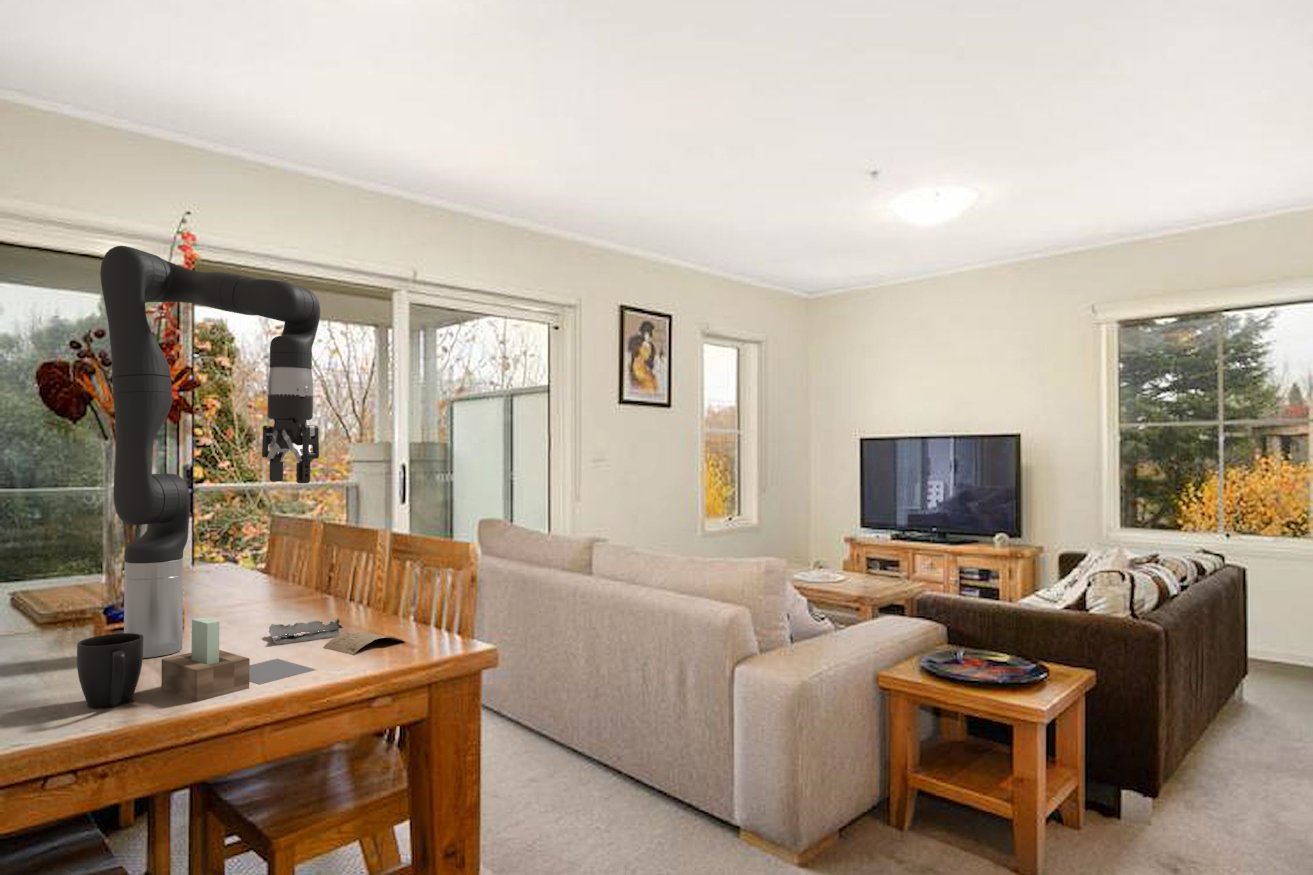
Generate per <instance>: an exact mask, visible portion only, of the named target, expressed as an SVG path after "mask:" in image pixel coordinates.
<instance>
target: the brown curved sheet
mask: <svg viewBox="0 0 1313 875" xmlns="http://www.w3.org/2000/svg"><path fill="white" fill-rule="evenodd" d="M378 639H385V640H386V639H387V640H390V639H391V641H395V640H396V641H395V642H400V641H403V642H402V643H406V641H404V640H402V639H399V638H396V637H393V636H391V637H390V636H385V635H381V634H377V633H372V632H371V633H370V632H368V631H361V630H360V631H357V630H356V631H350V632H345V633H341V635H340V636H337V637H336V638H332V639H330V640H329V641H328V642H326V643H325V645H324V646H323V647H322V648H323V650H329V651H332V652H333V651H334V652H338V653H342V654H348V655H349V656H350V655H351V656H354V655H355V654H357V653H358V651H359V650H360V649H362V648H364V647H365V646H366V645H369V644H370V643H372V642H373V641H375V640H376V641H377V640H378Z"/></svg>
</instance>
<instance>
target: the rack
mask: <svg viewBox="0 0 1313 875" xmlns="http://www.w3.org/2000/svg"><path fill="white" fill-rule="evenodd" d="M250 662H251V661H250V657H246V656H243V655H239V654H236V653H233V652H228V651H226V650H223V649H219V662H218V663H213V664H209V665H206V664H203V663H200V662H197V661H194V660H192V652H189V653H183V654H180V655H174V656H170V657H165V658H162V659H161V680H160V681H161V690H163V691H165V692H168V693H171V694H174V695H176V696H179V697H181V698H185V699H188V700H190V701H192V702H195V703H199V702H203V701H206V700H210V699H213V698H218V697H221V696H225V695H230V694H233V693H236V692H237V693H238V692H240V691H244V690H245V691H246V690H249V689H250V681H249V668H250V665H251V664H250Z"/></svg>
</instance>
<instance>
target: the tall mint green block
mask: <svg viewBox="0 0 1313 875" xmlns="http://www.w3.org/2000/svg"><path fill="white" fill-rule="evenodd" d="M219 650H220V621H219V620H215V619H211V618H208V617H198V618H193V619H191V653H192V660H194V661H197V662H200V663H203V664H206V665H209V664H213V663H218V662H219Z"/></svg>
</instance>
